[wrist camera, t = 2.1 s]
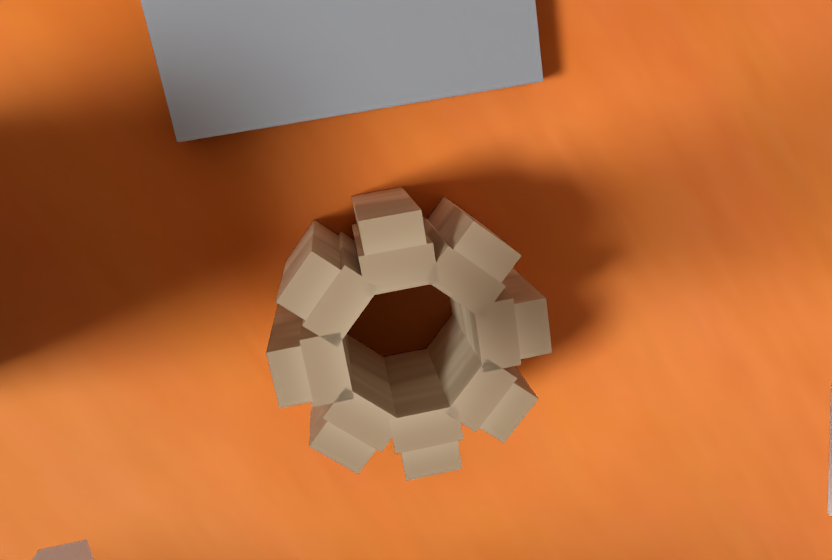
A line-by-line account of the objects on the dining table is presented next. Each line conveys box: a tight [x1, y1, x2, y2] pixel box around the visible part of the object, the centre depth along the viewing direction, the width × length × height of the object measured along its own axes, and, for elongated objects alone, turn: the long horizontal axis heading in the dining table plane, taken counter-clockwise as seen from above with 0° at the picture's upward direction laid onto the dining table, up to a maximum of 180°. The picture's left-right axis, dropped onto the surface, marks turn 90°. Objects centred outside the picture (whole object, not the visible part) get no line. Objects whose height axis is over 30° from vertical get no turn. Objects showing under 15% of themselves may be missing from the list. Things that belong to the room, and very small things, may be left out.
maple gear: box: [266, 187, 552, 481], centre depth 22 cm, size 8×8×5 cm
